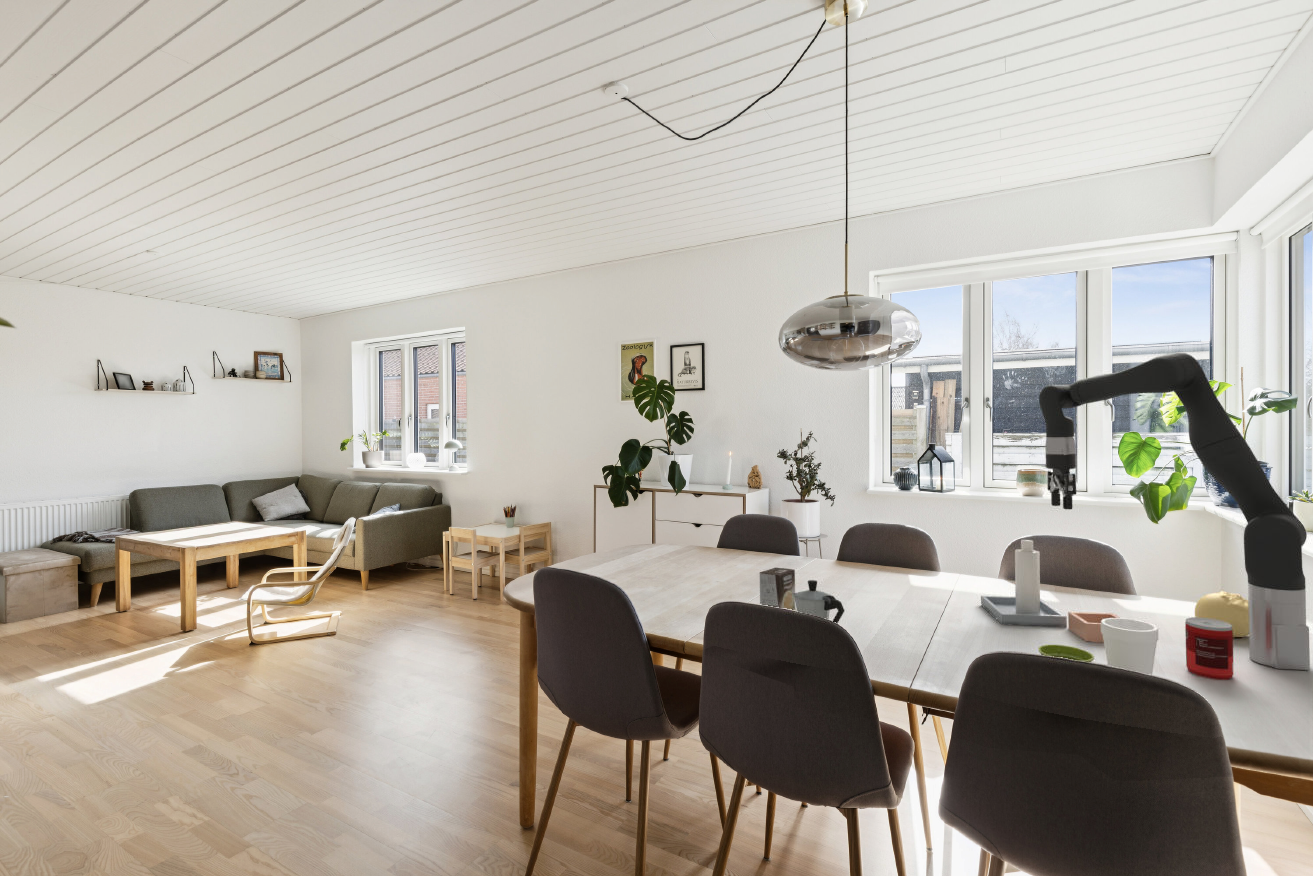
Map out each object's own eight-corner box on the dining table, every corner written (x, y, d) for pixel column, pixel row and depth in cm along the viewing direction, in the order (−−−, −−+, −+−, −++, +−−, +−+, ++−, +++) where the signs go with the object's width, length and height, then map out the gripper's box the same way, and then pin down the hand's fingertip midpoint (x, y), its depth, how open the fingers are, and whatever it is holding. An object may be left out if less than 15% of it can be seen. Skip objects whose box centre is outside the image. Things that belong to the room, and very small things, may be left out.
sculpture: (1261, 644, 153) (1260, 600, 153) (1196, 636, 160) (1195, 593, 160) (1254, 632, 162) (1253, 590, 162) (1193, 624, 169) (1192, 584, 169)
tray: (1066, 626, 170) (1066, 616, 170) (1001, 624, 174) (1001, 614, 174) (1039, 606, 190) (1038, 597, 190) (981, 605, 193) (980, 595, 193)
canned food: (1209, 665, 140) (1208, 616, 140) (1244, 679, 132) (1243, 627, 132) (1176, 667, 140) (1175, 617, 140) (1209, 681, 132) (1208, 628, 132)
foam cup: (1140, 679, 134) (1138, 618, 134) (1171, 697, 125) (1169, 631, 125) (1092, 678, 135) (1091, 617, 135) (1119, 696, 126) (1118, 631, 126)
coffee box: (780, 635, 169) (779, 575, 169) (759, 630, 173) (758, 572, 173) (796, 626, 176) (795, 569, 176) (776, 622, 180) (774, 566, 180)
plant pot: (1084, 687, 130) (1083, 646, 130) (1103, 707, 121) (1102, 662, 121) (1033, 684, 133) (1032, 643, 133) (1047, 702, 124) (1046, 658, 124)
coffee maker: (782, 652, 156) (780, 579, 156) (803, 644, 162) (802, 573, 162) (833, 668, 145) (831, 589, 145) (855, 658, 150) (853, 583, 150)
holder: (1133, 643, 156) (1133, 625, 156) (1086, 641, 158) (1085, 623, 158) (1113, 630, 166) (1112, 613, 166) (1068, 628, 168) (1068, 612, 168)
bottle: (1043, 618, 176) (1042, 542, 176) (1019, 616, 177) (1019, 542, 177) (1035, 611, 182) (1035, 539, 181) (1012, 610, 183) (1012, 538, 183)
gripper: (1037, 452, 194) (1038, 504, 194) (1056, 453, 180) (1057, 510, 180) (1064, 451, 192) (1065, 504, 192) (1085, 453, 178) (1086, 510, 178)
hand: (1061, 507), depth 186 cm, fingers open, 8 cm apart
